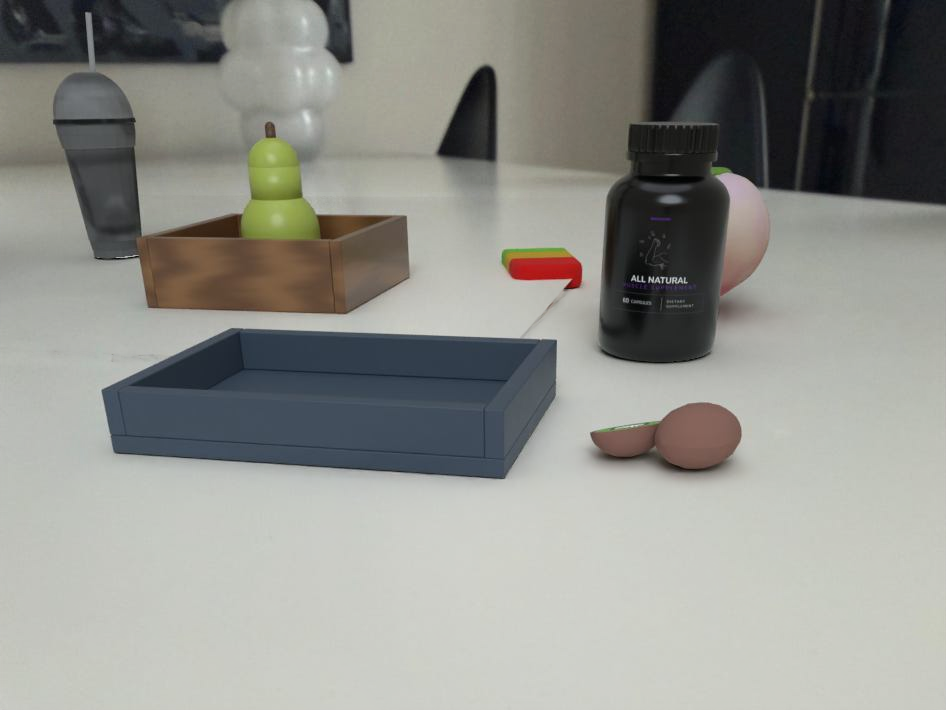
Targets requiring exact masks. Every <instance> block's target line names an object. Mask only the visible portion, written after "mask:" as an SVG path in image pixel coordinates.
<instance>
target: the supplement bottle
mask: <svg viewBox="0 0 946 710" xmlns="http://www.w3.org/2000/svg"><path fill="white" fill-rule="evenodd" d="M719 134H720V123H715V122H699V121H638V122H637V121H636V122H631V123H629V125H628V136H627V150H626V151H625V160H626V161H629V171H628V172H627V173H626V174H624V175H623V176H621V177H620V178H619V179H617V180H616V181H615V182H614V183H613V184H612V186H611V187H610V188H609V190H608V192H607V194H606V199H605V209H604V226H603V241H602V242H603V243H602V245H603V246H602V260H601V275H600V292H599V295H600V296H599V309H598V310H599V311H598V328H597V329H598V333H597V338H598V339H597V341H598V344H599V346H600V348H601V349H602V350H603V351H604V352H606V353H607V354H609V355H611V356H614V357H618V358H621V359H626V360H632V361H640V362H649V363H651V362H652V363H674V361H676V362H685V361H684V360H686V361H691V360H690V359H692V360H696V359H695V358H697V359H700V358H702V357H701V356H703V357H704V355H705V356H707V355H708V354H709V353H710V352H711V350H712V349H713V347H714V344H715V338H716V331H717V323H718V314H719V306H720V297H721V296H720V289H721V281H722V272H723V263H724V254H725V246H726V237H727V228H728V219H729V210H730V196H729V193H728V190H727V188H726V186H725V185H724V184H723V183H722V182H721V181H720V180H719V179H718V178H716V177H715V176H714V175H713V174H712V173H711V169H712V167H713V162H717V161H718V157H719V152H718V144H719ZM699 357H700V358H699ZM682 360H683V361H682Z"/></svg>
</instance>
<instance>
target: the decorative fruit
mask: <svg viewBox="0 0 946 710" xmlns="http://www.w3.org/2000/svg"><path fill="white" fill-rule="evenodd" d="M711 173H712V174H713V175H714V176H715V177H716V178H718V179H719V180H720V181H721V182H722V183H723V184H724V185H725V186H726V188H727V190H728V193H729V196H730V210H729V219H728V228H727V237H726V246H725V254H724V263H723V272H722V281H721V289H720V297H722V296H724V295H726V294H727V293H728V292H730V291H731V290H733V289H735V288H736V287H737V286H739V285H740V284H742V283H744V282H745V281H746V280H748V279H749V278H750V277H751V276H752V274H754V272H755V271H756V270H757V269H758V267H759V266H760V264H761V263H762V260H763V259H764V257H765V255H766V253H767V250H768V247H769V242H770V237H771V216H770V212H769V208H768V205H767V203H766V200H765V198H764V196H763V195H762V193H761V192H760V190H759V189H758V187H757V186H756V185H755V184H754V183H753V182H752V181H750V180H749V179H748V178H746V177H744V176H742V175H739V174H737V173H736V174H735V173H733V171H732V170H731V169H730V168H728V167H722V166H712V169H711Z"/></svg>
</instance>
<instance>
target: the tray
mask: <svg viewBox="0 0 946 710" xmlns="http://www.w3.org/2000/svg"><path fill="white" fill-rule="evenodd" d="M557 355H558V340H557V339H552V338H551V339H549V338H548V339H547V338H541V339H539V338H517V337H515V338H514V337H491V336H490V337H489V336H464V335H463V336H460V335H458V336H457V335H434V334H410V333H409V334H408V333H407V334H406V333H379V332H356V331H355V332H353V331H351V332H350V331H327V330H326V331H323V330H322V331H321V330H298V329H297V330H294V329H271V328H270V329H269V328H268V329H267V328H243V327H231V328H228V329H226V330H224V331H222V332H220V333H218V334H216V335H213V336H211V337H209V338H207V339H205V340H203V341H201V342H199V343H197V344H195V345H193V346H190V347H188V348H186V349H184V350H182V351H180V352H178V353H175V354H173V355H171V356H169V357H167V358H164V359H163V360H161V361H159V362H157V363H155V364H153V365H150V366H148V367H147V368H143V369H141V370H139V371H138V372H136V373H134V374H131V375H129V376H127V377H125V378H123V379H121V380H119V381H117V382H114V383H112V384H110V385H108V386H106V387H104V388H102V389H101V395H102V401H103V406H104V411H105V415H106V420H107V421H106V422H107V426H108V430H109V434H110V441H111V446H112V451H113V453H117V454H118V453H120V454H133V455H148V456H149V455H150V456H163V457H164V456H165V457H179V458H195V459H211V460H223V461H239V462H255V463H269V464H284V465H285V464H286V465H299V466H314V467H315V466H317V467H330V468H344V469H345V468H347V469H360V470H361V469H362V470H374V471H375V470H376V471H391V472H404V473H405V472H406V473H421V474H434V475H438V474H439V475H452V476H464V477H465V476H466V477H480V478H494V479H495V478H496V479H504V478H505V477H506V475H507V474H508V472H509V471H510V469H511V468H512V466H513V464H514V463H515V461H516V460H517V458H518V456H519V455H520V453H521V451H522V450H523V448H524V447H525V445H526V443H527V441H528V440H529V438H531V436H532V434H533V432H534V430H535V429H536V428H537V426H538V424H539V422H540V421H541V419H542V418H543V416H544V414H546V411H547V409H548V408H549V406H550V405H551V404H552V402H553V400H554V398H555V397H556V395H557V362H558V361H557V359H558V358H557Z"/></svg>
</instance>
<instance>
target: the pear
mask: <svg viewBox="0 0 946 710" xmlns="http://www.w3.org/2000/svg"><path fill="white" fill-rule="evenodd" d="M276 132H277V131H276V125H275V124H274V122H272V121H266V122H265V123H264V133H265V137H264V138H262V139H260V140H258V141H256V142H255V144H253V146H252V147H251V149H250V150H249V153H248V155H247V172H248V182H249V190H250V197H251V198H250V199H249V201H248V202H247V204H245V207H244V209H243V211H242V213H241V214H242V218H241V236H242V238H274V239H321V236H320V227H319V221H318V218H317V215H316V214H317V213H316V211H315V209H314V208H313V207H312V205H311V204H310V202H309V201H308V200H307V199H306V198H305V197H304V194H303V183H302V174H301V173H302V172H301V164H300V159H299V156H298V154H297V152H296V150H295V149H294V147H293V146H292V145H291V144H290V143H288V142H287V141H286V140H284V139H282V138H279V137H277V133H276Z"/></svg>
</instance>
